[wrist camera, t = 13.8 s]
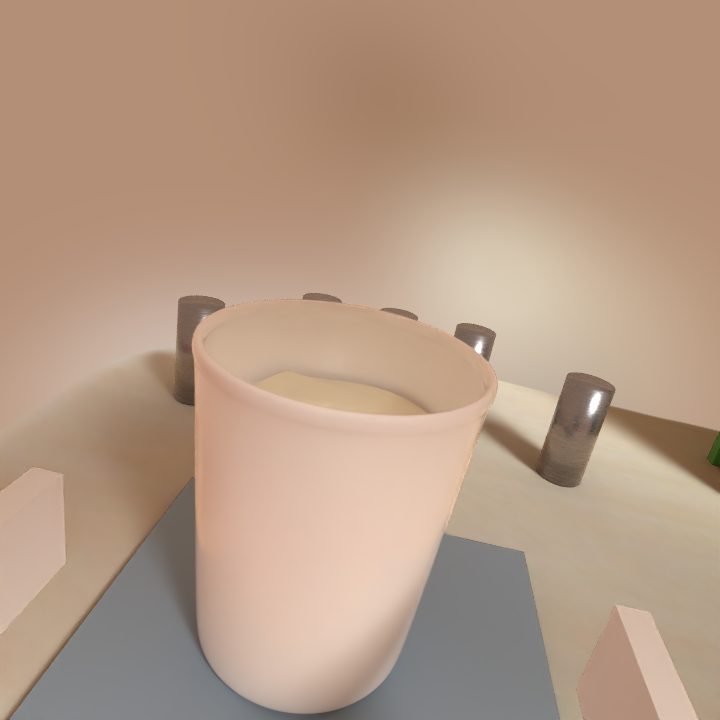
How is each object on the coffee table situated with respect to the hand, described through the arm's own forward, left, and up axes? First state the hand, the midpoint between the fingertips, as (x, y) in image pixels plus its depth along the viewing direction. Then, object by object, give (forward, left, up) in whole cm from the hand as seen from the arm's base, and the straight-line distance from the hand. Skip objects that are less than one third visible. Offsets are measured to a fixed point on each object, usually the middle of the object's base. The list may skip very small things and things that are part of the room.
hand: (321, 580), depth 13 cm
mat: (0, -7, -9) cm, 11 cm away
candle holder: (+1, -7, -9) cm, 11 cm away
